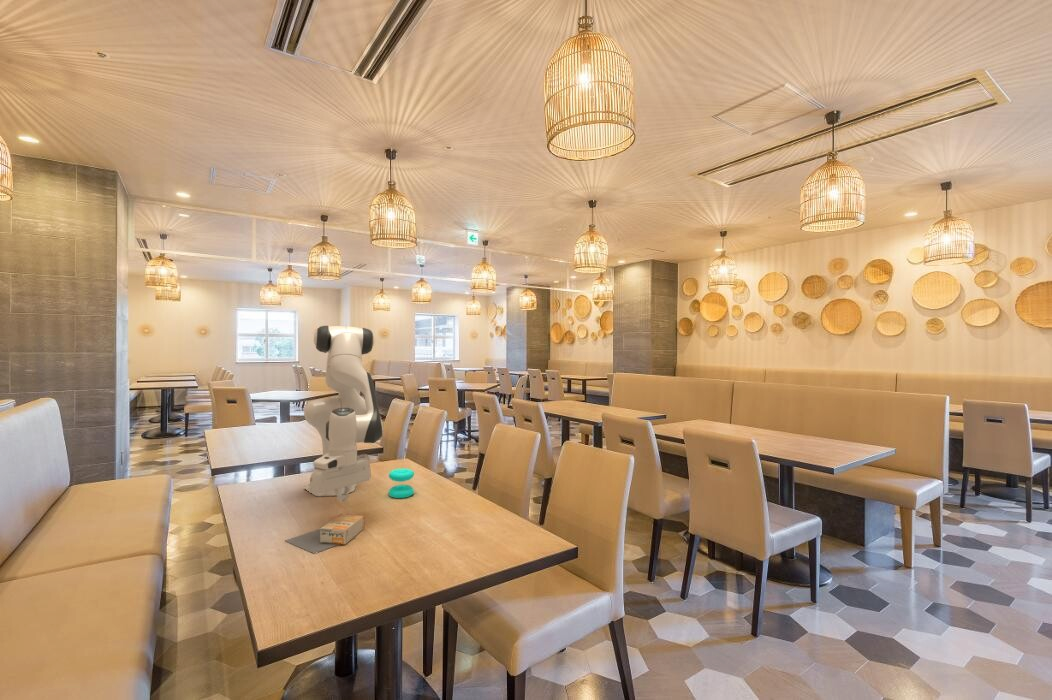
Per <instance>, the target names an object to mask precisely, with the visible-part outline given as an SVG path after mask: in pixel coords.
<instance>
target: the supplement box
mask: <svg viewBox="0 0 1052 700" xmlns="http://www.w3.org/2000/svg"><path fill="white" fill-rule="evenodd" d="M364 518H365V517H364V515H354V514H351V515H350V514H339V515H337V516H336V517H334V518H333V519H332V520H330V521H329V522H328V523H326V524H324V525H323V526H322V527H320V529H321V532H320V542H321V543H333V544H340V545H346V544H347V543H348V542H350V540H351V539H352V538H353V537H354V538H356V536H357V535H359V533H361V532H362V531H363V530H364V521H365V520H364ZM351 541H352V540H351Z"/></svg>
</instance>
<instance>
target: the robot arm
mask: <svg viewBox="0 0 1052 700" xmlns="http://www.w3.org/2000/svg"><path fill="white" fill-rule="evenodd" d="M313 344H314V346H315V348H316V350H317V351H318V352H321V353H323V354H326V353H328V354H327V358H326V359H327V360H326V368H325V369H326V370H325V385H326V386H327V387H328V388H330V389H331V390H333V391H335V392H338V396H337V397H331V398H327V397H326V398H319V399H315V400H310V401H309V402H307V404H306V405H305V407H304V412H303V416H304V419H305V421H306V422H307V424H309V426H310V425H311V426H312V427H314V429H316V430H317V432H318V434H319V435H320V437H321V442H322V445H321V446H322V456H320V457H318V458H317V459H315V460H314V461H313V467H314V469H313V471H312V473H311V474H310V477H309V484H307V485H305V486H303V490H305V489H306V490H307V491H306V490H305V491H306V492H308V491H309V492H308V493H309V494H311V493H312V494H311V495H313V496H315V497H327V496H328V497H331V496H332V497H333V496H336V501H337V502H343V501H347V500H348V499H349V493H352V492H354V491H355V490H356V487H357V486H358V484H360V483H364V482H368V481H370V479H371V478H372V472H371V471H372V470H371V465H370V462H371V461H370V459H371V458H370V456H369V455H368V454H366V453H362V454H358V447H357V444H358V443H362V444H363V443H364V444H375V443H376V442H378V441H379V440H380V439H381V438H382V437H383V434H384V422H383V420H382V418H381V415H380V410H379V405H378V399H377V395H376V394H377V393H376V389H375V386H374V381H373V378H372V375H371V373H369V372H368V371H366V369H365V368H364V366H363V356H364V355H368V354H369V353H370V352H371V351H372V350H373V347H374V345H375V336H374V334H373V332H372V330H371V329H369V328H366V327H362V328H361V327H356V326H348V325H346V326H345V325H321V326H319V327H318V328H317V329H316V331H315V333H314V335H313ZM358 391H359V392H361V393H362V395H363V397H364V398H363V397H362V396H361V395H360V394H359V392H358Z"/></svg>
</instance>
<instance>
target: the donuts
mask: <svg viewBox="0 0 1052 700" xmlns="http://www.w3.org/2000/svg"><path fill="white" fill-rule="evenodd" d="M414 472H415V471H413V469H410V468H396V469H393V470H391V471H390V472H389V473H388V478H389V479H390V480H391V481H394V482H399V483H400V482H407V481H410V480H411V479H413V478H414V475H415V473H414ZM414 492H415V489H414V487H412V486H411V485H410V484H396V485H394V486H392V487H391V488H390V489H389V490H388V495H389V496H390V497H391V498H393V499H394V498H395V499H405V498H408V497H409V498H410V497H412V496H413V495H414Z"/></svg>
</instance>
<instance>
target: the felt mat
mask: <svg viewBox="0 0 1052 700" xmlns="http://www.w3.org/2000/svg"><path fill="white" fill-rule="evenodd" d="M320 532H321V528H318V529H316V530H312V531H309V532H306V533H303V534H300V535H297V536H294V537H292V538H288V539H286V540H284V542H286V543H289V544H291V545H293V546H295V547H297V548H299V547H300V548H299V549H301V550H304V551H306V550H307V552H308V551H309V553H311V552H312V553H311V554H313V553H316V552H318V553H321V552H324V551H326V550H329V549H331V547H332V548H335V547H337V546H340V545H339V544H333V543H321V542H320ZM355 539H356V537H353V538H352V539H351V541H353V540H355ZM334 546H335V547H334ZM323 550H324V551H323ZM320 551H321V552H320ZM316 554H317V553H316Z"/></svg>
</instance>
